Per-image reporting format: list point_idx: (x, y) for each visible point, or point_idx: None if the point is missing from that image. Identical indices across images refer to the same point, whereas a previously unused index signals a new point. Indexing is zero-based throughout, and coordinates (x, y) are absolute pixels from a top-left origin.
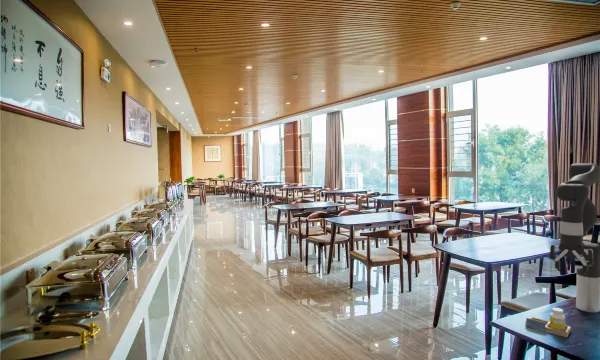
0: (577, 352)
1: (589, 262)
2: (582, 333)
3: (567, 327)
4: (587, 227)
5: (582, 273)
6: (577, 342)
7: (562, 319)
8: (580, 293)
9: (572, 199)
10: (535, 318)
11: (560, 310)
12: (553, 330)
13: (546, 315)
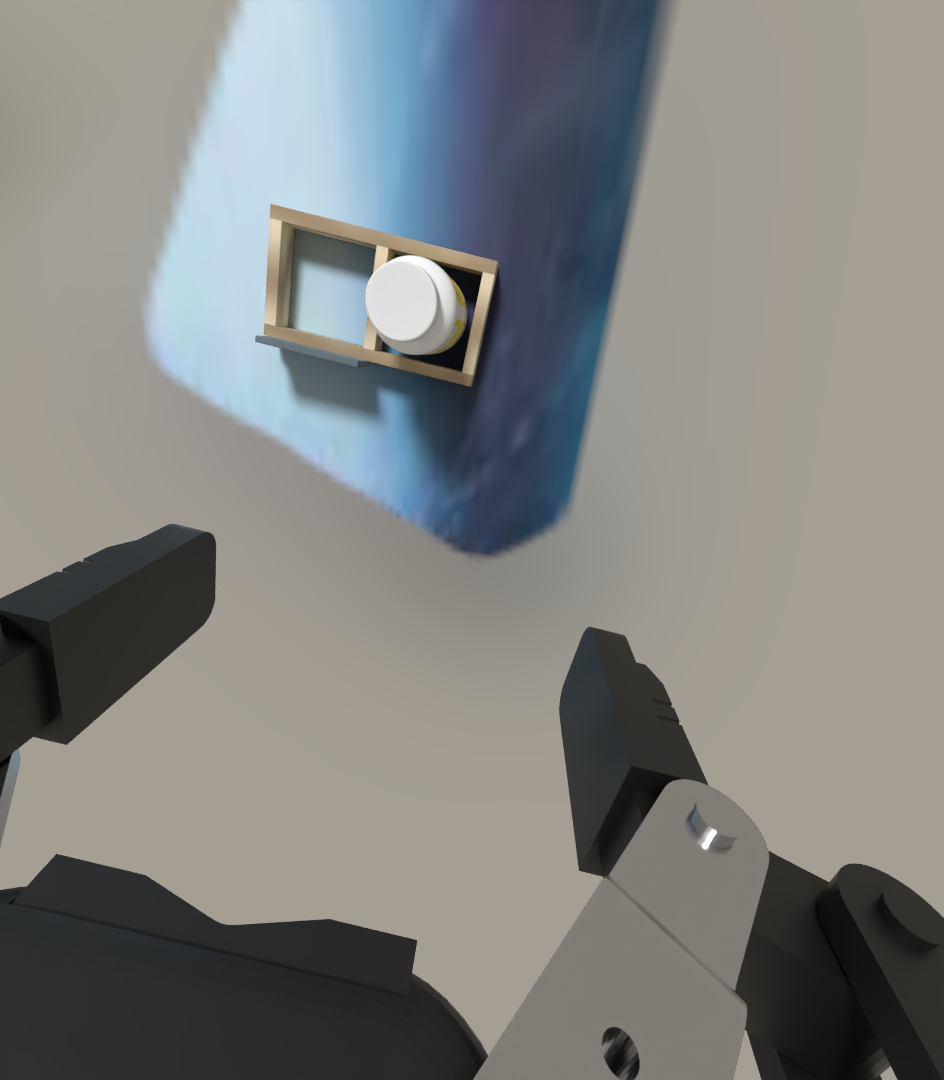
0: (502, 537)
1: (773, 1059)
2: (557, 267)
3: (480, 272)
4: None
5: (562, 712)
6: (515, 423)
7: (440, 345)
8: None
9: None
10: (303, 225)
11: (419, 316)
12: (408, 370)
13: (363, 3)
